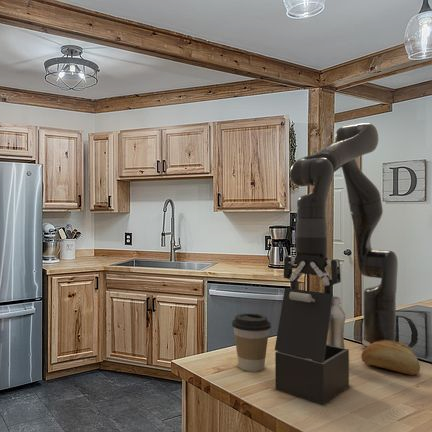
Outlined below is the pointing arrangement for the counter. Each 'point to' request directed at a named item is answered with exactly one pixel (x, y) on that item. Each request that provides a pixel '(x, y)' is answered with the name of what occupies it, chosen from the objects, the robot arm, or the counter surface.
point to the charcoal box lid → (304, 323)
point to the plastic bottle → (336, 325)
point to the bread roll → (391, 356)
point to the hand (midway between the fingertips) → (311, 297)
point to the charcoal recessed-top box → (313, 375)
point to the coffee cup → (251, 340)
